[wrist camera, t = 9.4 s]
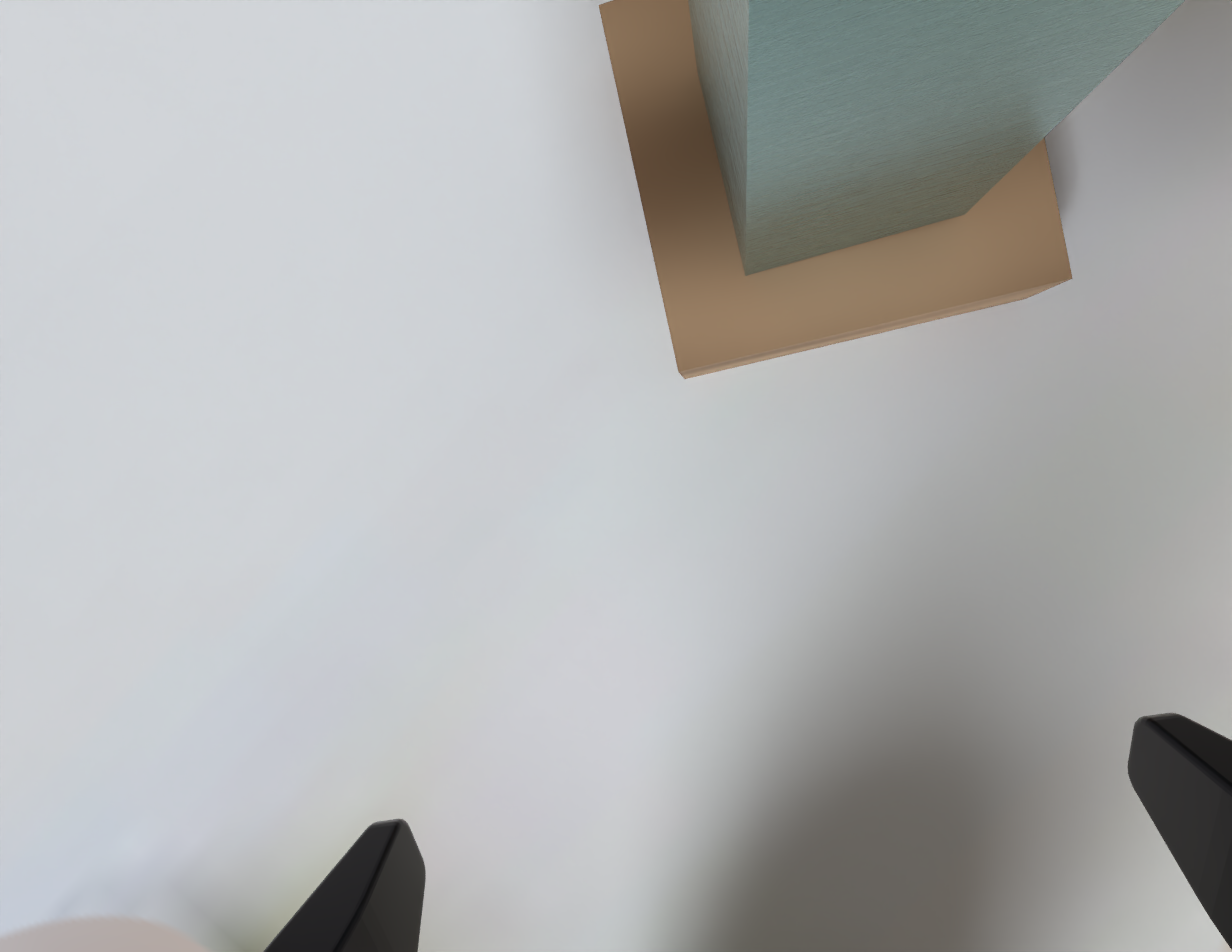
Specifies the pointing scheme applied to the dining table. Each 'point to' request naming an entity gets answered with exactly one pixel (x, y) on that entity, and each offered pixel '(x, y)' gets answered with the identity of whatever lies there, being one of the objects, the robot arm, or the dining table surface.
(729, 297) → the walnut block
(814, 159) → the tea tin
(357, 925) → the robot arm
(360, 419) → the dining table surface
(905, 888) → the dining table surface
